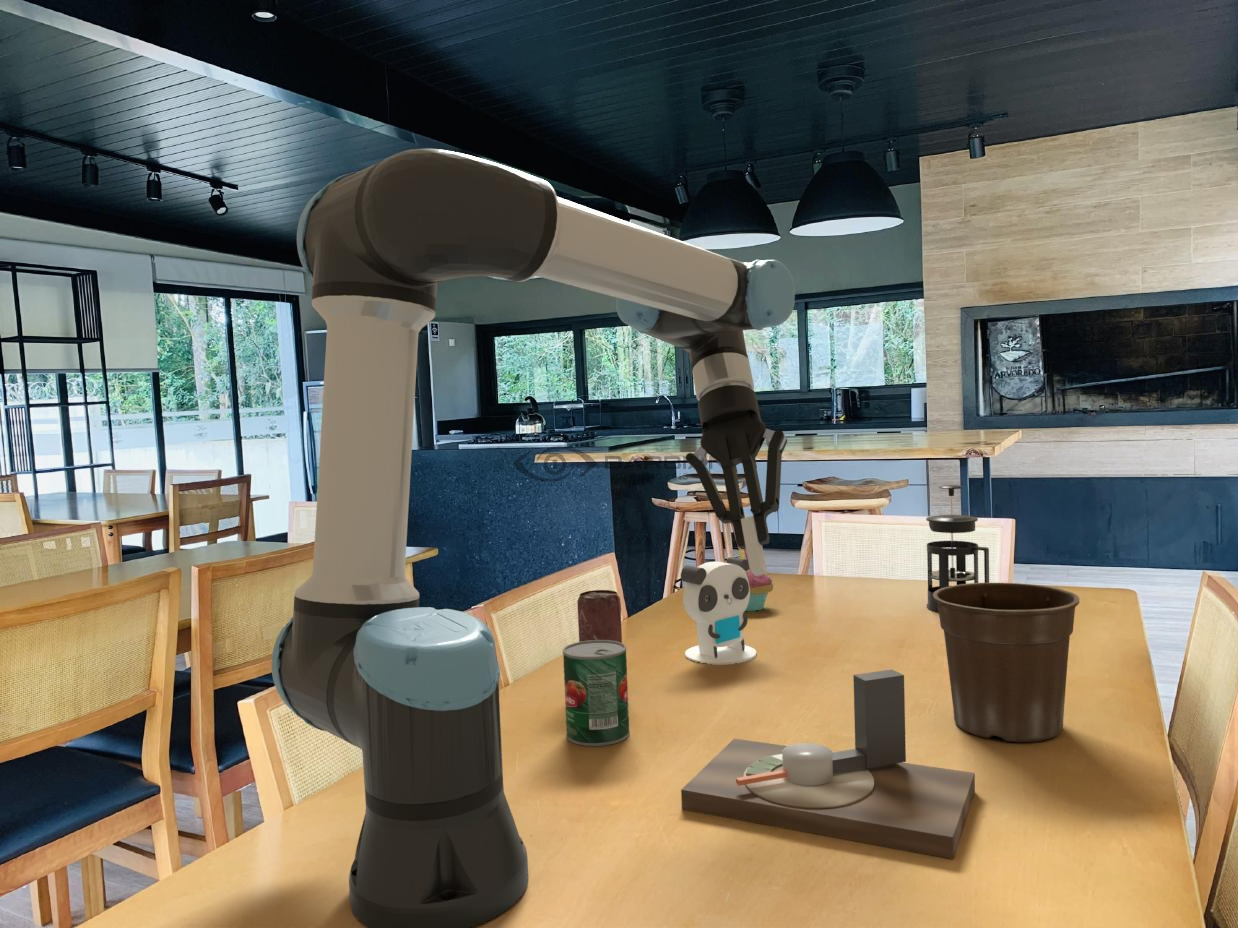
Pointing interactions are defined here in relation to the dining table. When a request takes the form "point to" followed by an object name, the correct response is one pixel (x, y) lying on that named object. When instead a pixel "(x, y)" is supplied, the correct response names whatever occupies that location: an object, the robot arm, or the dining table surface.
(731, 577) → the panda figurine
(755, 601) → the cupcake
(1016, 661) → the plant pot
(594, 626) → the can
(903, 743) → the dial crank
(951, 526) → the french press
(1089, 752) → the dining table surface
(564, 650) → the canned tomato
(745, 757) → the dial board
